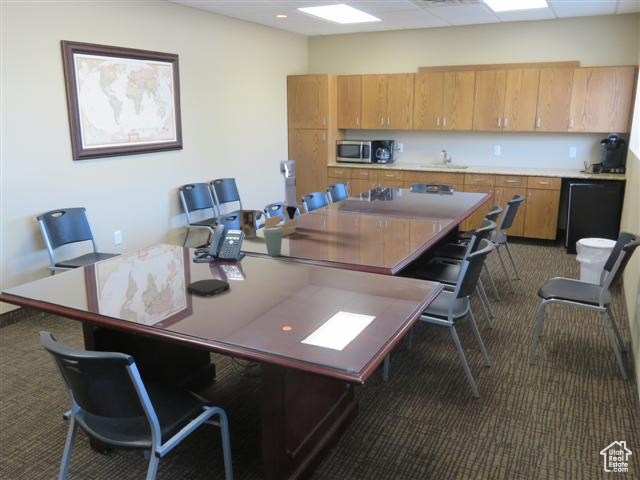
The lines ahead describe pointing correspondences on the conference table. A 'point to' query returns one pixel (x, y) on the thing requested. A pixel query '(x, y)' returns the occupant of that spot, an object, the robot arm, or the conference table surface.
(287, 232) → the carton
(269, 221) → the flap
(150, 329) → the conference table surface
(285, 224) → the flap
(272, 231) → the disposable coffee cup
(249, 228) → the coffee box
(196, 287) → the media streaming box
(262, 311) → the conference table surface
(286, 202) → the robot arm
